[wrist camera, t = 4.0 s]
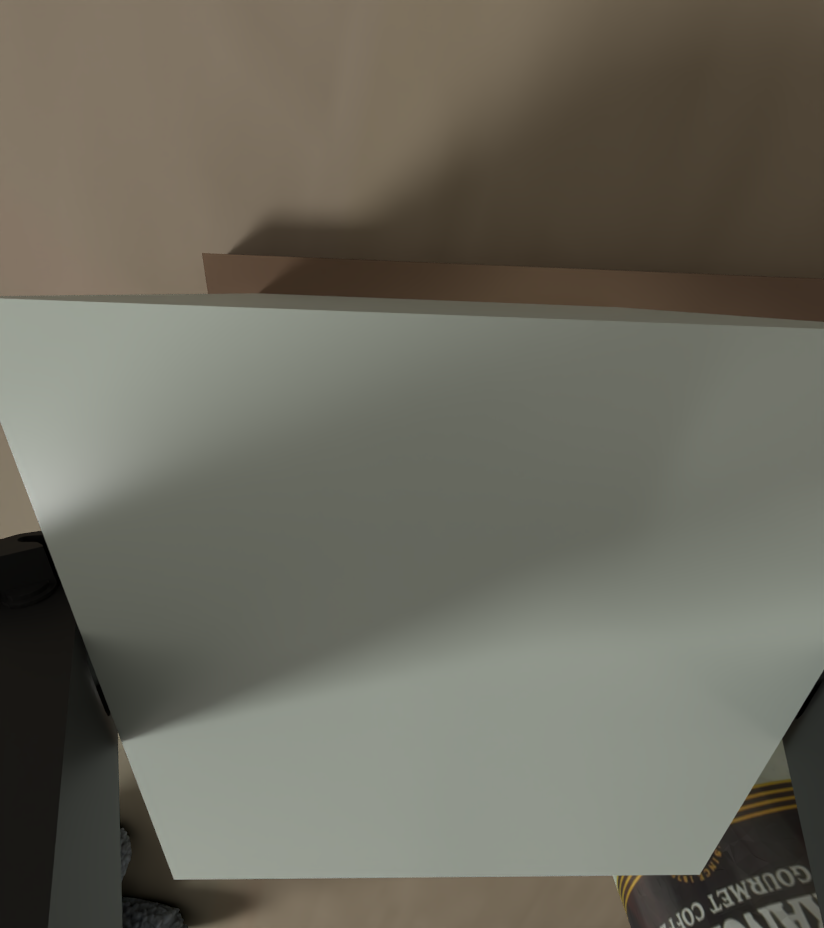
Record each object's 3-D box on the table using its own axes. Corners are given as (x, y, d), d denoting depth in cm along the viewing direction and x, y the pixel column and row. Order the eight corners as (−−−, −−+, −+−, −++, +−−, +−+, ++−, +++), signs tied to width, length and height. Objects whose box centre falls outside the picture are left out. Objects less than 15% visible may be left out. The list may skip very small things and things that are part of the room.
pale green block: (553, 588, 17) (699, 874, 9) (288, 584, 17) (173, 879, 8) (615, 307, 13) (1025, 337, 4) (258, 293, 12) (-48, 296, 4)
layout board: (841, 588, 19) (880, 614, 18) (265, 579, 18) (252, 606, 17) (1011, 289, 14) (1087, 289, 12) (223, 257, 13) (198, 252, 12)
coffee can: (504, 691, 21) (659, 1299, 9) (658, 563, 18) (1266, 1213, 5) (630, 762, 24) (895, 1308, 11) (783, 660, 21) (1396, 1254, 8)
